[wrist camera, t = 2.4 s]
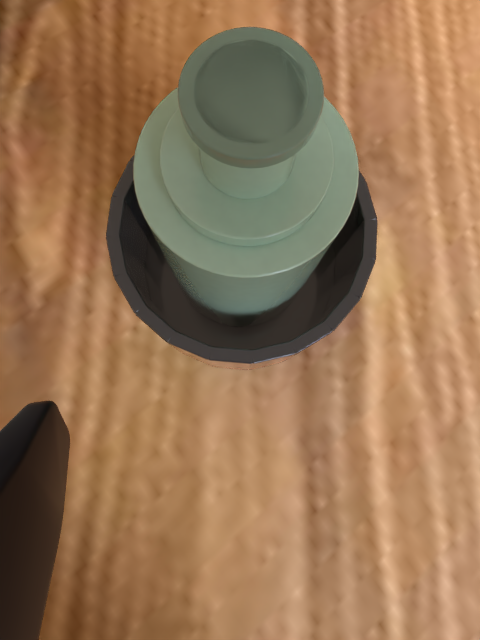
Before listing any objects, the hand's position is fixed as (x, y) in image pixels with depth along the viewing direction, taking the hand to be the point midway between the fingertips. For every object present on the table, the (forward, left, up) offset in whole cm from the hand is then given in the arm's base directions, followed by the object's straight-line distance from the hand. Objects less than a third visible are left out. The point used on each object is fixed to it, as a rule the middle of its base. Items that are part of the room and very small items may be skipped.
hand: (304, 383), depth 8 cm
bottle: (+6, 0, -12) cm, 13 cm away
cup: (+6, 0, -12) cm, 13 cm away
